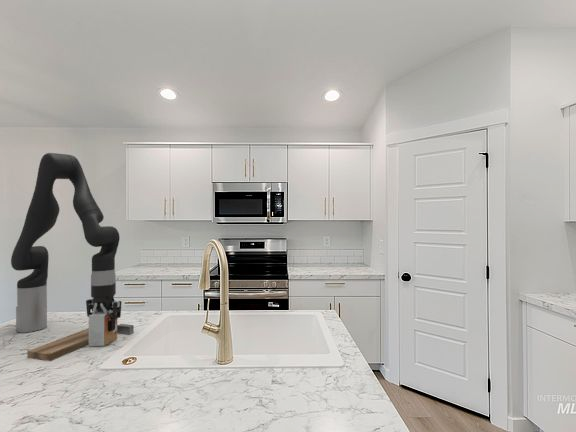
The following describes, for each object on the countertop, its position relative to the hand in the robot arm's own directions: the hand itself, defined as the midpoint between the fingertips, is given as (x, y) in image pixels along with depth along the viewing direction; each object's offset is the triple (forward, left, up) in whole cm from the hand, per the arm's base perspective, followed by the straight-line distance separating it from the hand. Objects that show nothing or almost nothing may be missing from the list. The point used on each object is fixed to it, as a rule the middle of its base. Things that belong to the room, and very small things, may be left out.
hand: (103, 329), depth 108 cm
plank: (-9, -4, -5) cm, 10 cm away
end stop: (0, +9, -5) cm, 10 cm away
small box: (0, 0, -4) cm, 4 cm away
